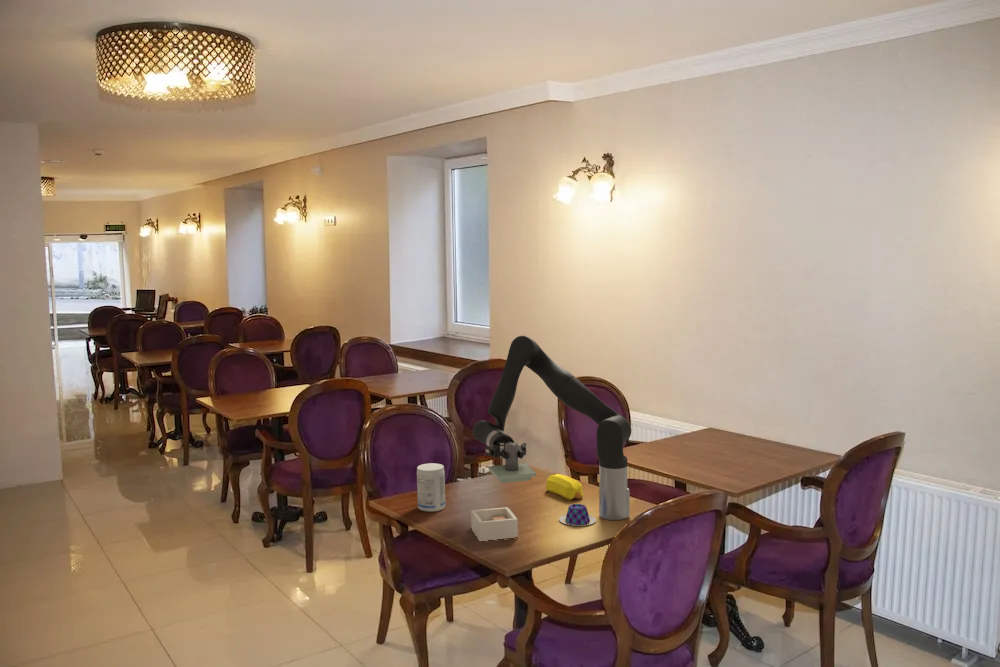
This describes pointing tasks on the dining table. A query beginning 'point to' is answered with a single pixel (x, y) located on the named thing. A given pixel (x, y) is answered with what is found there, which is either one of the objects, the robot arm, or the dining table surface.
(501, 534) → the storage box
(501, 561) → the dining table surface
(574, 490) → the yellow rounded loaf
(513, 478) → the lid
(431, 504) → the supplement tub
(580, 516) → the pudding
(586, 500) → the dining table surface
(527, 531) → the dining table surface
